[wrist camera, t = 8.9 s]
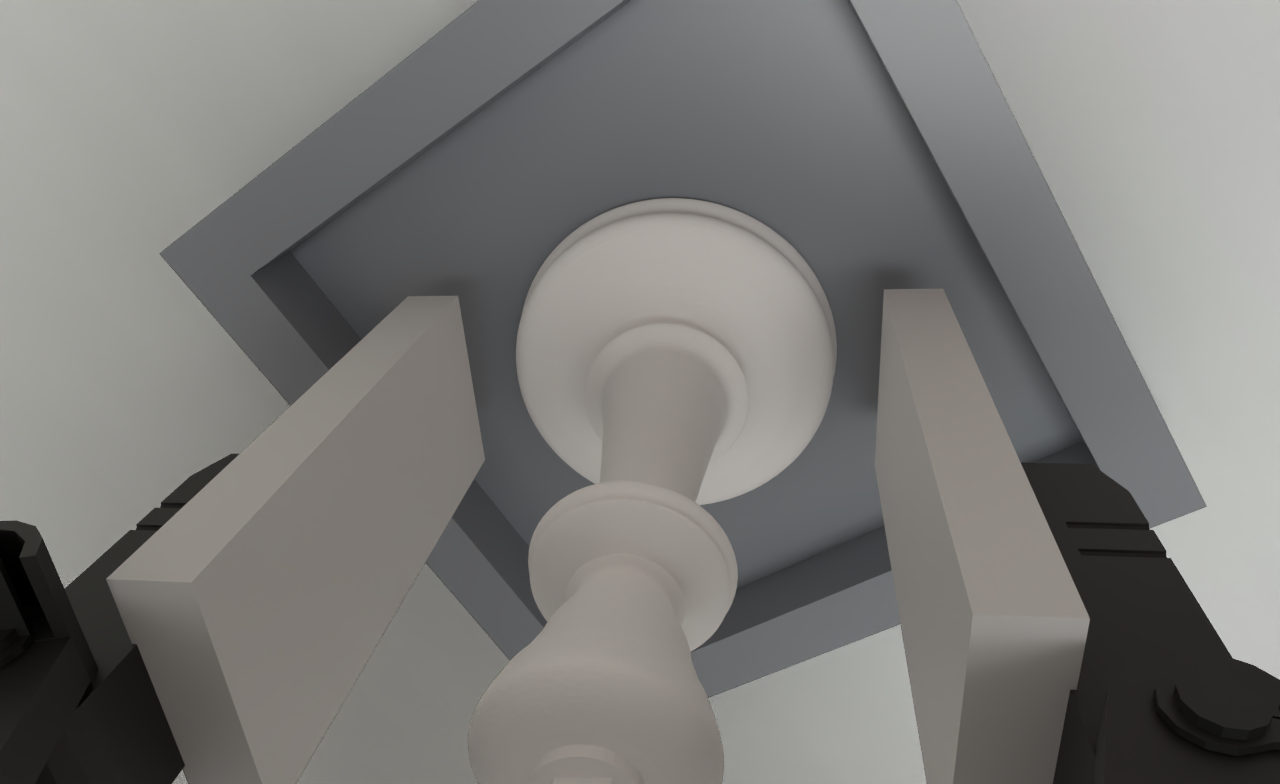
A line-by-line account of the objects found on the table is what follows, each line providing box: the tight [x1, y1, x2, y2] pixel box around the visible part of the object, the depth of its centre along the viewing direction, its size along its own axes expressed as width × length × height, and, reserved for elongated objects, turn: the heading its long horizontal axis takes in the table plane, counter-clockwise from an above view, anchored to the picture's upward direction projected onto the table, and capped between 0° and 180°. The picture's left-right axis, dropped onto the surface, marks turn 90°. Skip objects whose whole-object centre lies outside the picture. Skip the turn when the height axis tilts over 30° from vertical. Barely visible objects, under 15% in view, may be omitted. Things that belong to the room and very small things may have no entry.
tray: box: [160, 0, 1207, 698], centre depth 14 cm, size 11×11×2 cm
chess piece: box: [468, 198, 837, 784], centre depth 10 cm, size 5×5×10 cm
